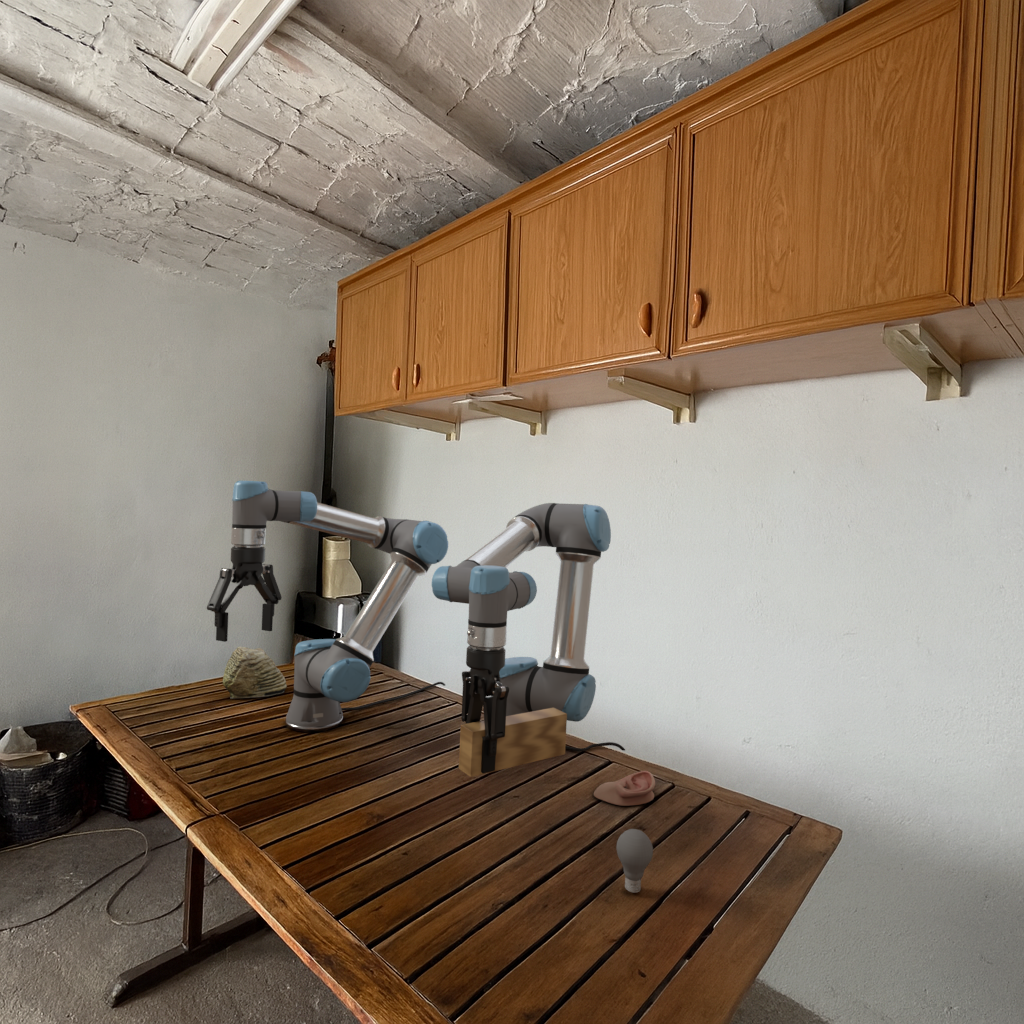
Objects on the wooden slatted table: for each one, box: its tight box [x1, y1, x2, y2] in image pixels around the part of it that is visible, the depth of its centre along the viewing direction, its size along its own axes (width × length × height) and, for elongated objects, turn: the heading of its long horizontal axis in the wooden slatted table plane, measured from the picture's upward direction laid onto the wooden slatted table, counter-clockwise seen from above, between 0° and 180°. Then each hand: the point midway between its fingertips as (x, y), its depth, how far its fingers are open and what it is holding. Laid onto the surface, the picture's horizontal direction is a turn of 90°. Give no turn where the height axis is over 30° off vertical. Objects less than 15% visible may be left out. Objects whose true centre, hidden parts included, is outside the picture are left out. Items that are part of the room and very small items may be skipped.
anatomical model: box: [593, 770, 656, 807], centre depth 141 cm, size 13×4×12 cm
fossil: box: [222, 646, 288, 699], centre depth 198 cm, size 9×18×15 cm, turn 132°
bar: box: [458, 708, 568, 778], centre depth 127 cm, size 23×4×8 cm, turn 125°
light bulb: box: [615, 828, 654, 894], centre depth 106 cm, size 6×6×10 cm
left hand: (245, 635), depth 150 cm, fingers open, 13 cm apart
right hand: (480, 765), depth 123 cm, fingers closed on bar, 5 cm apart
